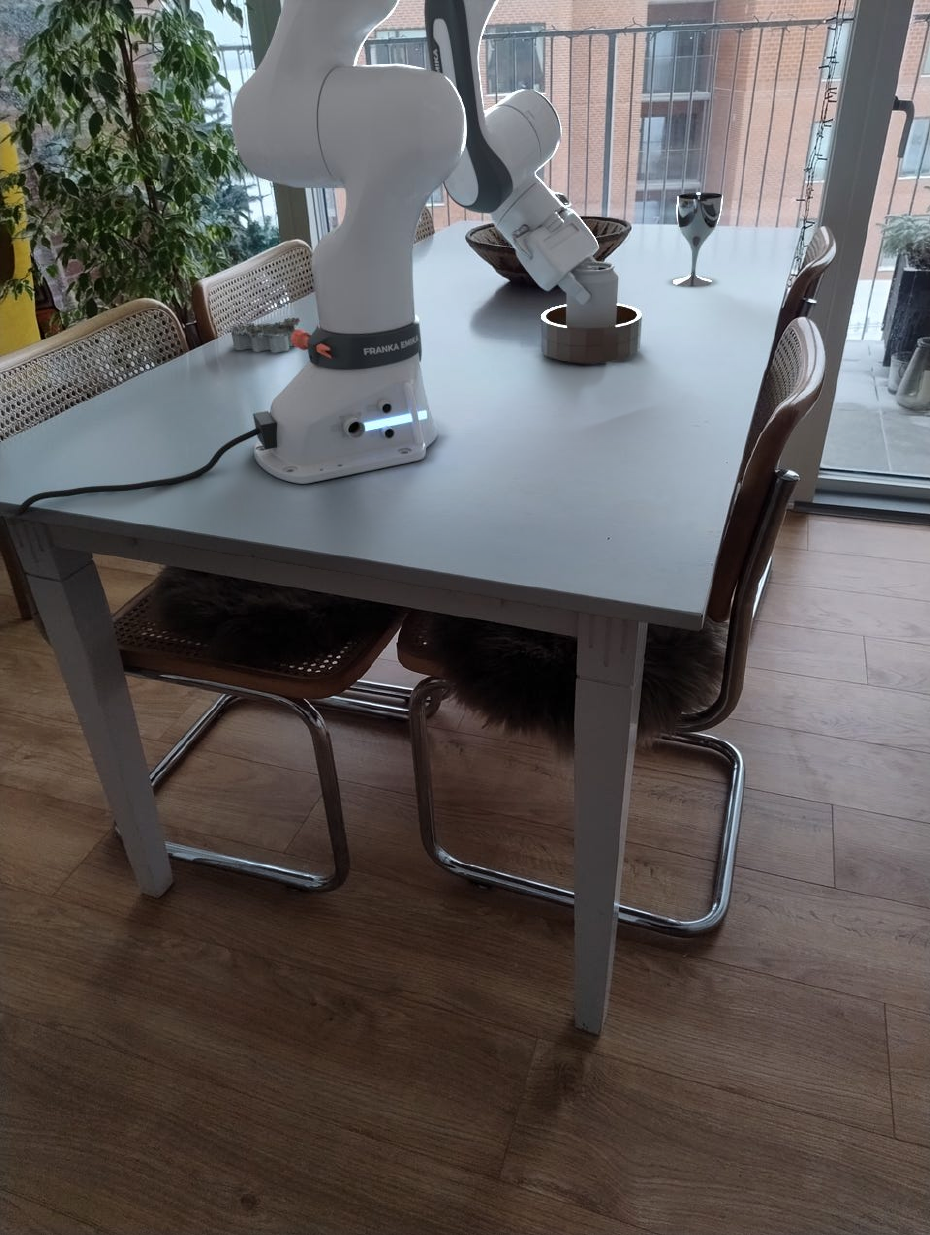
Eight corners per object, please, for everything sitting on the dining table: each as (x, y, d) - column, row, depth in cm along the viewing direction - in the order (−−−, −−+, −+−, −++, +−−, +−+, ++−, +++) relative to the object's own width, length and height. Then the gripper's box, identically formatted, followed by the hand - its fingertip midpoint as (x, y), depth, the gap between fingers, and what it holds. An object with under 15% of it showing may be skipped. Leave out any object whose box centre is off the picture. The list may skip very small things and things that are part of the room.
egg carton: (306, 342, 145) (302, 317, 143) (280, 355, 139) (276, 329, 137) (254, 337, 149) (249, 312, 147) (226, 349, 143) (222, 324, 141)
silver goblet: (719, 279, 167) (728, 193, 159) (705, 288, 162) (714, 200, 153) (680, 275, 171) (687, 192, 163) (664, 285, 166) (671, 198, 157)
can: (613, 355, 129) (617, 270, 122) (562, 354, 130) (564, 270, 124) (616, 340, 135) (620, 259, 128) (568, 340, 136) (569, 259, 130)
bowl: (584, 373, 124) (585, 335, 121) (522, 351, 135) (521, 314, 132) (659, 352, 131) (662, 315, 128) (595, 332, 141) (596, 297, 138)
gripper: (523, 216, 116) (591, 295, 118) (568, 192, 132) (628, 263, 134) (493, 251, 120) (560, 327, 122) (540, 224, 136) (599, 291, 138)
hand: (596, 293), depth 128 cm, fingers closed on can, 7 cm apart
